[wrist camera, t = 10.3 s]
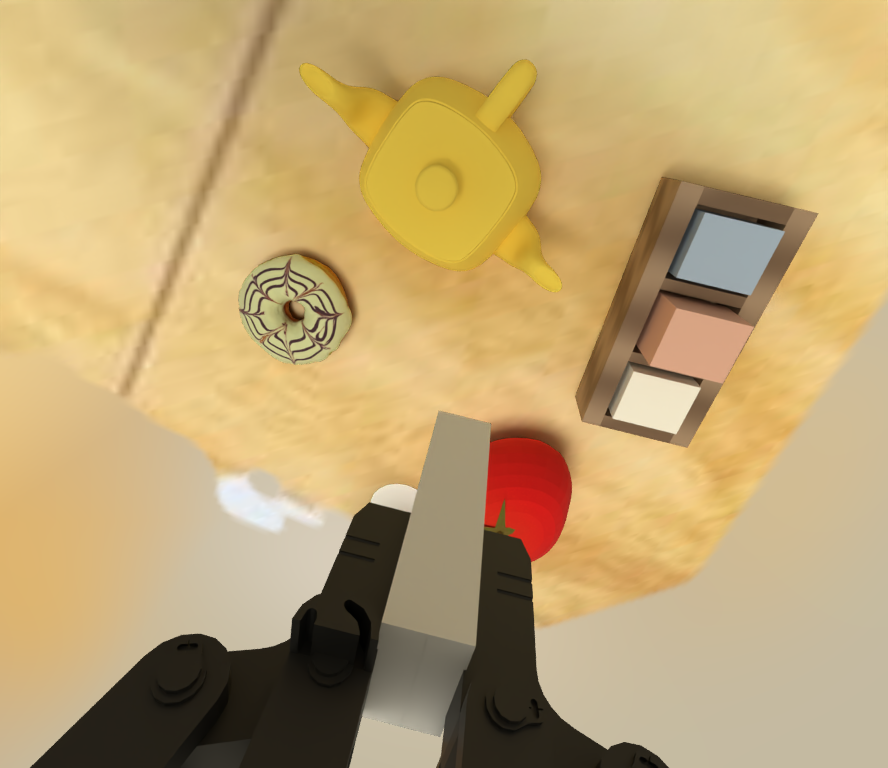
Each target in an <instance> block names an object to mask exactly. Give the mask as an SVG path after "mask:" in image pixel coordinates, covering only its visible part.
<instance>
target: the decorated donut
mask: <svg viewBox="0 0 888 768" xmlns="http://www.w3.org/2000/svg"><path fill="white" fill-rule="evenodd" d="M290 300H292V301H295V302H298V303H300V304H301V305H302V306H303V307H304V309H305V312H304V319H302V320H298V319H294V318H293V317H292V316H291V314H290V311H289V309H288V307H289V305H288V304H289V302H290ZM238 301H239V311H240V316H241V319H242V324H243V325H244V327H245V329H246V331H247V332H248V334H249V335H250V337H251V338H252V339H253V340H254V341H255V342H256V343H257V344H258V345H259V346H260V347H261V348H263V349H264V350H265V351H266V352H267V353H268V354H270V355H271V356H272V357H274V358H275V359H277V360H279V361H281V362H283V363H290V364H295V365H298V364H299V365H302V364H310V363H313V362H320V361H323V360H325V359H326V358H327V357H328V356H329V355H330V354H331V353H332V352H333V351H335V350H337V349H338V347H339V345H340V343H341V340H342V339H343V337H344V336H345V334H346V333H347V332H348V330H349V328H350V326H351V324H352V314H351V311H350V309H349V307H348V301H347V298H346V294H345V292H344V289H343V287H342V285H341V283H340V281H339V279H338V277H337V276H336V275H335V273H334V272H332V270H331V269H330V268H329V267H328V266H326V265H323V264H322V263H320V262H319V261H317V260H315V259H312V258H309V257H305V256H301V255H299V254H293V255H288V256H280V257H277V258H273V259H271V260H268V261H266V262H265V263H263V264H260V265H259V266H258V267H257V268H255V269H254V270H253V271H252V272H251V274H250V275H249V276H248V277H247V278H246V279H245V281H244V282H243V285H242V288H241V290H240V292H239V299H238Z"/></svg>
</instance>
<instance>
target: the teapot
mask: <svg viewBox="0 0 888 768" xmlns="http://www.w3.org/2000/svg"><path fill="white" fill-rule="evenodd" d="M299 71H300V75H301V77H302V79H303V81H304V82H305V84H306V85H307V86H308V87H309V89H310V90H311V91H312V92H313V93H314V94H316V95H317V96H318V97H319V98H320V99H322V100H323V101H324V102H326V103H327V104H328V105H329V106H330V107H332V108H333V109H334V110H335V111H336V112H337V113H338V114H339V115H340V116H341V118H342V119H343V120H344V122H345V123H346V124H347V125H348V126H349V128H350V129H351V130H352V131H353V132H354V133H355V134H356V135H357V136H358V137H359V138H360V139H361V140H362V141H363V142H364V143H365V144H366V145H367V146H368V147H369V149H368V152H367V154H366V156H365V159H364V161H363V164H362V166H361V170H360V175H359V182H360V188H361V192H362V195H363V197H364V199H365V201H366V203H367V205H368V206H369V208H370V209H371V211H372V212H373V214H374V215H375V216H376V218H377V219H378V220H379V221H380V223H381V224H382V225H383V226H384V228H385V229H386V230H387V231H388V232H389V233H390V234H391V235H392V236H393V237H394V238H395V239H396V240H397V241H398V242H399V243H401V244H402V245H403V246H404V247H406V248H407V249H408V250H410V251H411V252H413V253H414V254H416V255H418V256H419V257H421V258H423V259H425V260H427V261H429V262H431V263H433V264H435V265H438V266H440V267H443V268H446V269H449V270H454V271H467V270H471V269H474V268H475V267H477V266H479V265H481V264H482V263H483V262H484V261H486V260H487V259H488V258H489V257H490V256H491V255H492V254H495V255H496V256H498V257H499V258H501V259H502V260H504V261H505V262H507V263H508V264H510V265H511V266H513V267H515V268H517V269H520V270H522V271H523V272H525V273H526V274H527V275H528V276H530V277H531V278H532V279H533V280H534V281H535V282H536V283H537V284H538V285H540V286H541V287H542V288H544V289H546V290H548V291H551V292H559V291H560V290H561V288H562V283H561V280H560V278H559V277H558V275H557V274H556V273H555V271H554V270H553V269H552V268H551V267H550V266H549V265H548V264H547V263H546V261H545V260H544V258H543V256H542V253H541V242H540V237H539V234H538V232H537V230H536V228H535V227H534V225H533V224H532V223H531V221H530V220H529V218H528V217H527V216H526V214H527V213H528V211H529V209H530V208H531V206H532V204H533V203H534V201H535V200H536V198H537V195H538V192H539V190H540V184H541V171H540V167H539V164H538V161H537V159H536V156H535V154H534V152H533V150H532V148H531V146H530V145H529V143H528V141H527V139H526V138H525V136H524V135H523V133H522V132H521V130H520V129H519V128H518V126H517V125H516V124H515V123H514V121H513V120H512V119H511V116H512V115H513V113H514V112H515V111H516V109H517V108H518V107H519V105H520V104H521V102H522V101H523V100H524V98H525V97H526V96H527V94H528V93H529V91H530V90H531V88H532V87H533V85H534V83H535V81H536V77H537V71H536V68H535V66H534V65H533V63H531V62H530V61H528V60H520V61H518V62H516V63H515V64H514V65H513V66H512V67H511V68H510V69H509V70H508V72H507V73H506V74H505V75H504V77H503V78H502V79H501V81H500V82H499V83H498V84H497V86H496V87H495V88H494V90H493V91H492V92H491V94H490V95H489V96H488V98H487V97H486V96H485V95H483V94H482V93H480V92H478V91H476V90H474V89H473V88H471V87H469V86H466V85H464V84H462V83H460V82H457V81H454V80H452V79H449V78H444V77H429V78H425V79H423V80H420V81H418V82H417V83H415V84H414V85H413V86H411V87H410V88H409V89H408V90H407V92H406V93H405V94H404V95H403V96H402V97H401V99H400V100H399V101H396V100H394V99H392V98H391V97H389V96H387V95H386V94H384V93H382V92H380V91H378V90H375V89H372V88H366V87H352V86H348V85H345V84H342V83H341V82H339V81H337V80H335V79H334V78H333V77H331V76H330V75H329V74H327V73H326V72H325V71H323V70H322V69H320V68H318V67H317V66H314V65H312V64H309V63H304V64H302V65H301V66H300V68H299Z"/></svg>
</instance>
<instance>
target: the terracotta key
mask: <svg viewBox="0 0 888 768" xmlns="http://www.w3.org/2000/svg"><path fill="white" fill-rule="evenodd" d="M753 328H754V326H752V325H751V324H749V323H748V322H747V321H745V320H744V319H743V318H741V317H740V316H739V315H737V314H736V313H734V312H733V311H732V310H730V309H729V308H728V307H726V306H722V305H718V304H714V303H710V302H706V301H702V300H697V299H693V298H689V297H685V296H681V295H677V294H673V293H669V292H664V291H660V290H659V292H658V294H657V297H656V299H655V301H654V304H653V306H652V308H651V310H650V313H649V315H648V317H647V320H646V322H645V324H644V326H643V329H642V331H641V333H640V335H639V338H638V340H637V342H636V345H637V347H638V348H639V350H640V351H641V353H642V355H643V356H644V358H645V359H646V361H647V362H648V364H649V365H650V366H653V367H657V368H661V369H665V370H669V371H673V372H677V373H681V374H685V375H689V376H694V377H698V378H702V379H706V380H710V381H714V382H718V383H722V384H723V382H724V380H725V378H726V377H727V375H728V373H729V371H730V369H731V368H732V366H733V364H734V362H735V360H736V359H737V357H738V355H739V353H740V352H741V350H742V348H743V346H744V344H745V343H746V341H747V339H748V337H749V335H750V334H751V332H752V330H753Z"/></svg>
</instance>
